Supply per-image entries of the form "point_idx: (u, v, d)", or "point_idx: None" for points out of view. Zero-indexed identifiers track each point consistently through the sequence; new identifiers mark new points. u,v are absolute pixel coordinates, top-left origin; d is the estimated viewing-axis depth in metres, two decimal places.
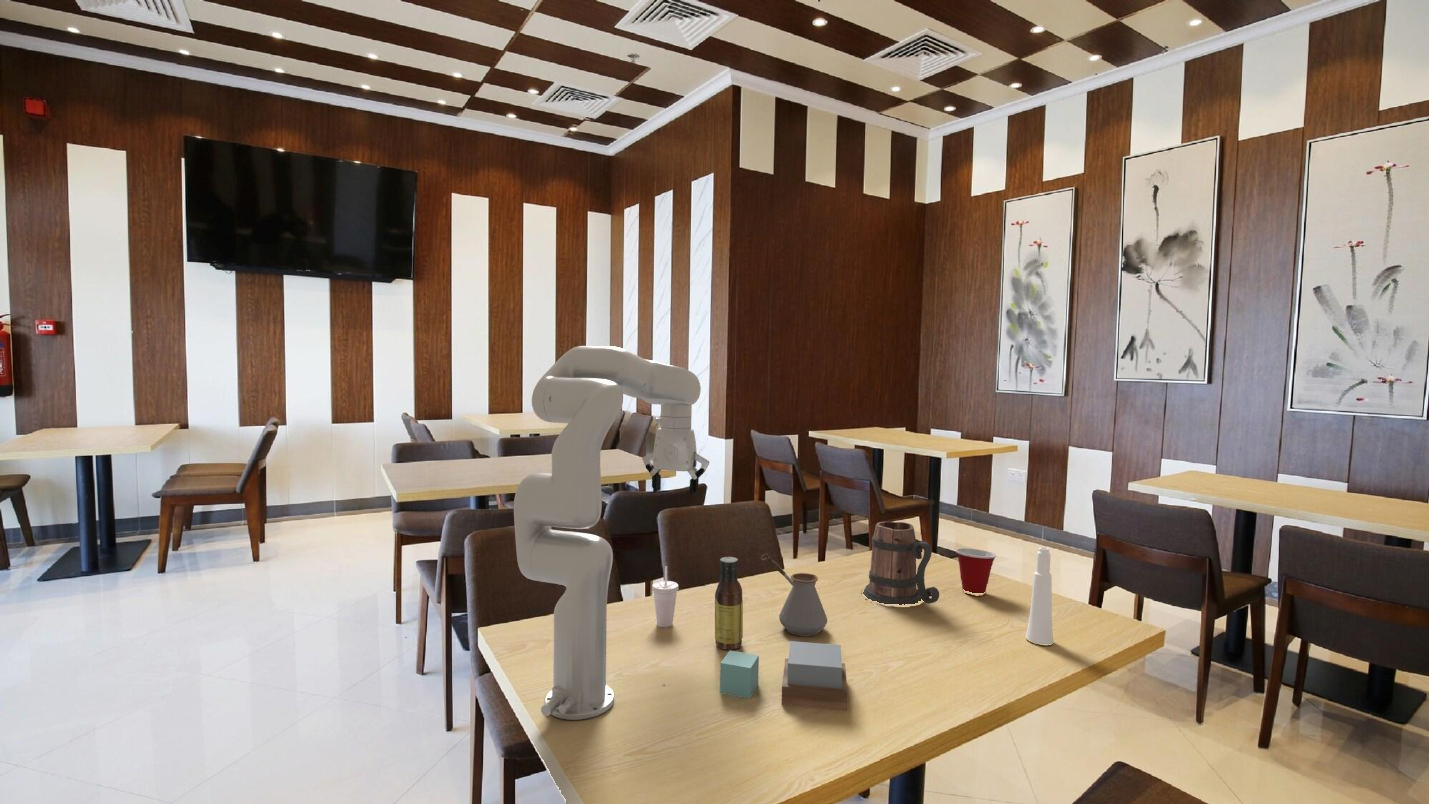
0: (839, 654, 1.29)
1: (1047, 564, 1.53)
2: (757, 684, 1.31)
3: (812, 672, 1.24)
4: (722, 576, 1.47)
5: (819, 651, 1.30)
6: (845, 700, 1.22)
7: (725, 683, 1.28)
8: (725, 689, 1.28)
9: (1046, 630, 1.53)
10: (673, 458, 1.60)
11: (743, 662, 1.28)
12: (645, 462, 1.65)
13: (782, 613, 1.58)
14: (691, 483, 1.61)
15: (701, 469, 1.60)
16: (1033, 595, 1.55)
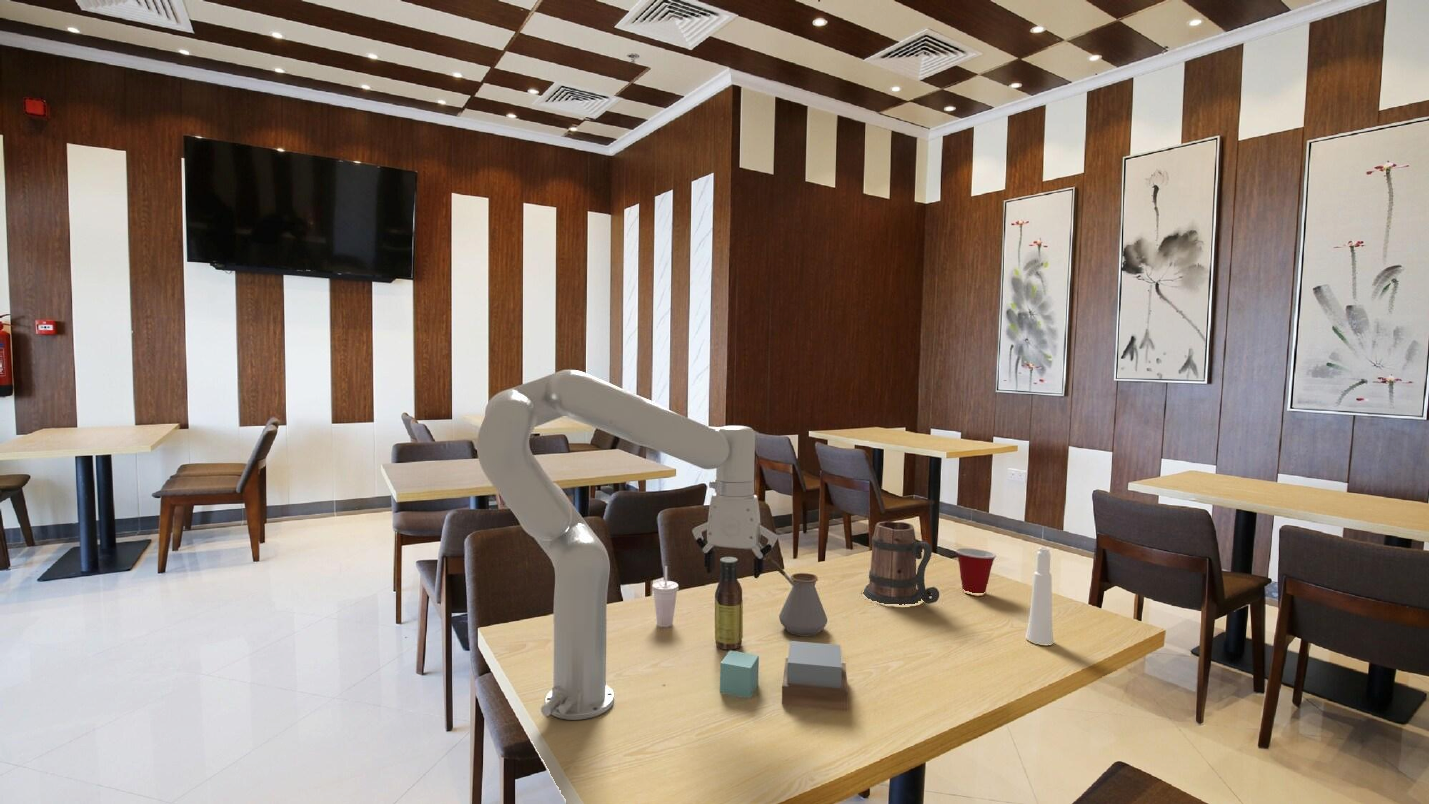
0: (839, 654, 1.29)
1: (1047, 564, 1.53)
2: (757, 684, 1.31)
3: (811, 672, 1.24)
4: (722, 576, 1.47)
5: (819, 651, 1.30)
6: (845, 700, 1.22)
7: (725, 683, 1.28)
8: (725, 689, 1.28)
9: (1046, 630, 1.53)
10: (733, 533, 1.29)
11: (743, 662, 1.28)
12: (696, 535, 1.34)
13: (782, 613, 1.58)
14: (755, 564, 1.30)
15: (768, 546, 1.29)
16: (1033, 595, 1.55)
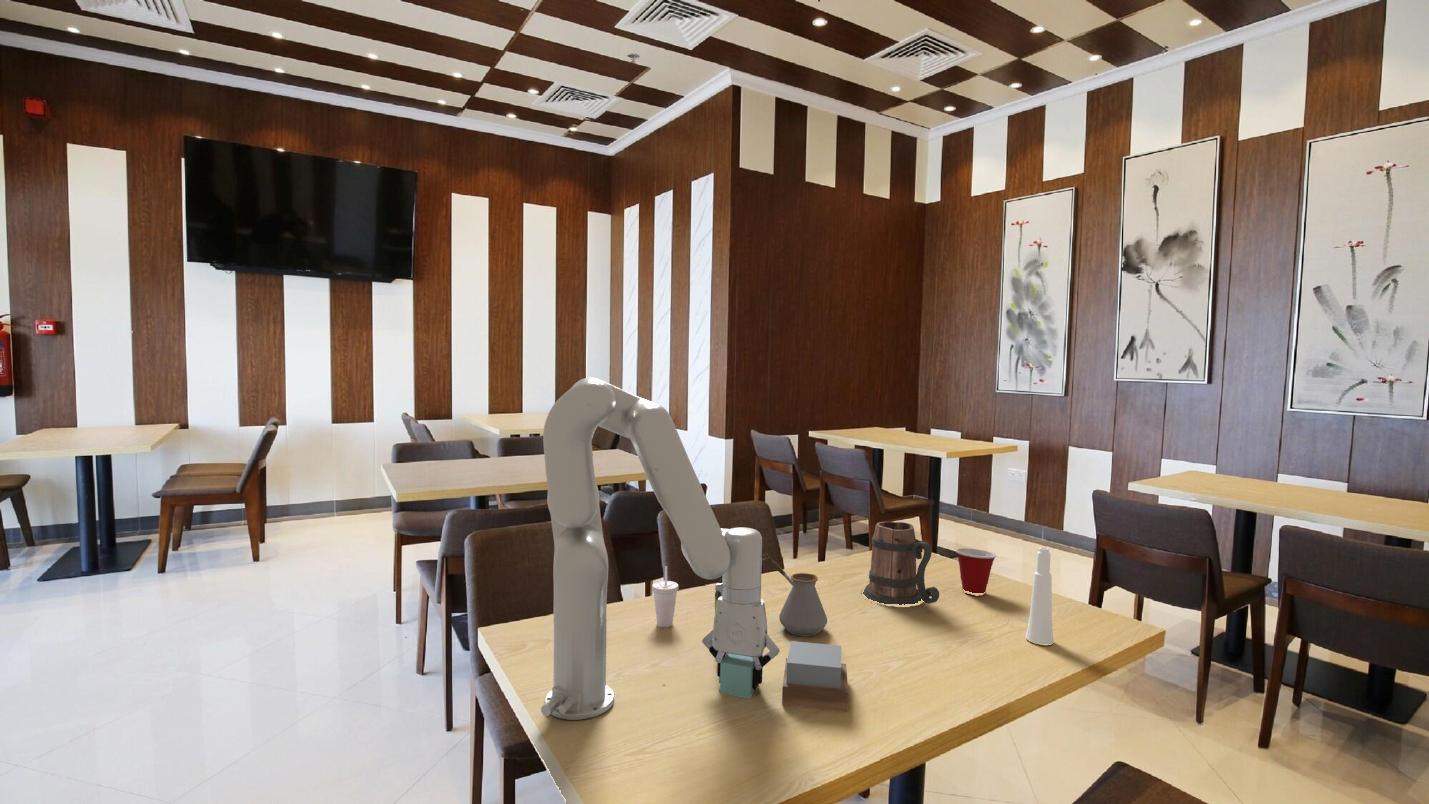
0: (839, 654, 1.29)
1: (1047, 564, 1.53)
2: None
3: (811, 672, 1.24)
4: None
5: (819, 651, 1.30)
6: (846, 700, 1.22)
7: (725, 683, 1.28)
8: (725, 689, 1.28)
9: (1046, 630, 1.53)
10: (739, 640, 1.26)
11: (743, 662, 1.28)
12: (707, 645, 1.31)
13: (782, 613, 1.58)
14: (754, 675, 1.27)
15: (767, 657, 1.27)
16: (1033, 595, 1.55)
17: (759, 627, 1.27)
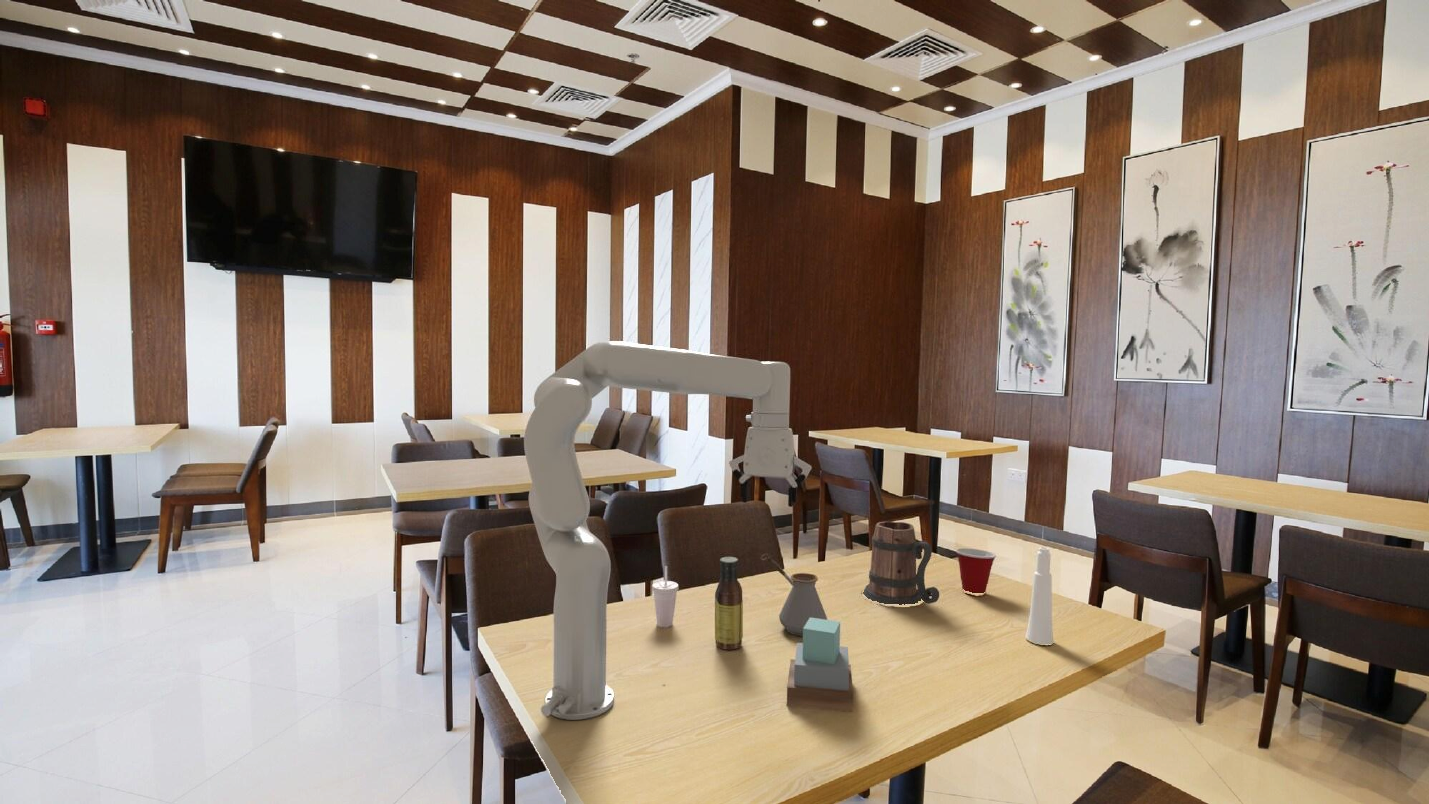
0: (846, 656, 1.28)
1: (1047, 564, 1.53)
2: (839, 651, 1.29)
3: (819, 674, 1.23)
4: (722, 576, 1.47)
5: None
6: (851, 701, 1.22)
7: (808, 649, 1.26)
8: (808, 655, 1.26)
9: (1046, 630, 1.53)
10: (769, 463, 1.35)
11: (826, 628, 1.26)
12: (733, 467, 1.40)
13: (782, 613, 1.58)
14: (790, 492, 1.35)
15: (802, 475, 1.35)
16: (1033, 595, 1.55)
17: None
